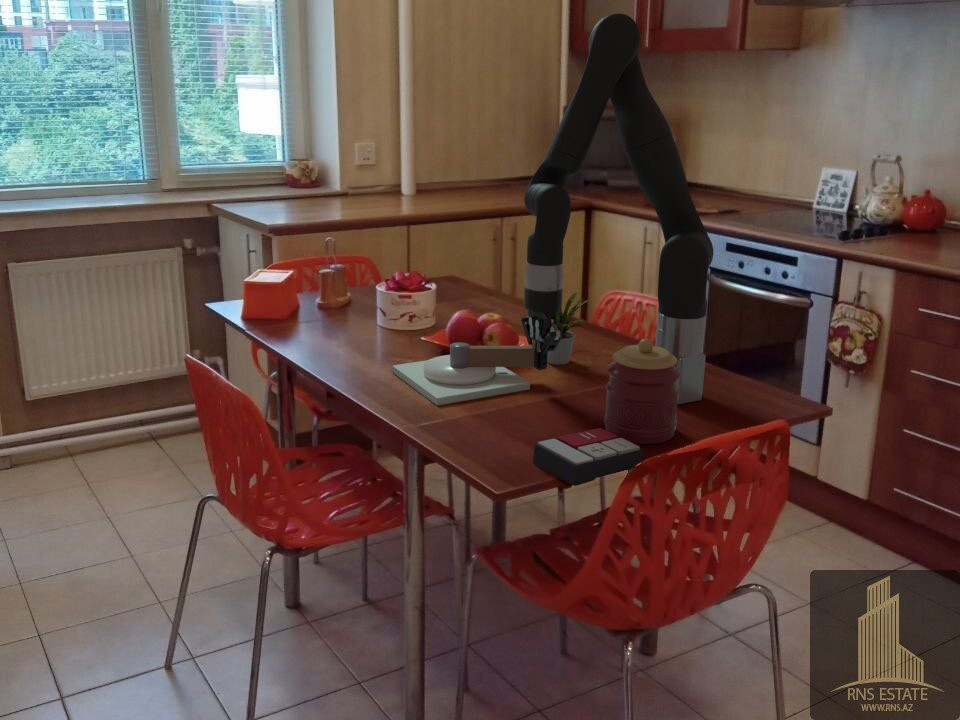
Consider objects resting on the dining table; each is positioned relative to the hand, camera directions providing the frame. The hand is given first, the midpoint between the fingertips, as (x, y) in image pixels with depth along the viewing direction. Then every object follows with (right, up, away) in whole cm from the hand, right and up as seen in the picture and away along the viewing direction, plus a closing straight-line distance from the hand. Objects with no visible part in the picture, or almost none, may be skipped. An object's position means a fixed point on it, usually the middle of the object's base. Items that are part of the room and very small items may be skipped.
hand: (540, 368), depth 190 cm
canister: (+17, -12, -19) cm, 28 cm away
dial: (-12, -1, +6) cm, 14 cm away
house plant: (+6, +1, +20) cm, 21 cm away
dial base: (-16, -3, +6) cm, 18 cm away
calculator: (+6, -16, -32) cm, 36 cm away
